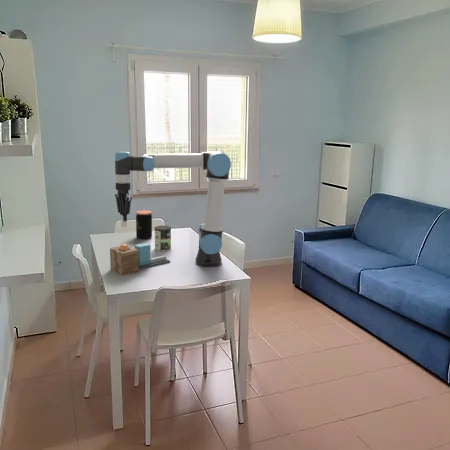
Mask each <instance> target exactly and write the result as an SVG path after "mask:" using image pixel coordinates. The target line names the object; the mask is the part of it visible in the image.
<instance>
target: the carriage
mask: <svg viewBox="0 0 450 450" xmlns="http://www.w3.org/2000/svg"><path fill="white" fill-rule="evenodd" d="M134 248H135V249H137V250H138V259H139V266H143V265H147V264H150V260H151V244H150V243H147V242H143V243H138V244H134Z"/></svg>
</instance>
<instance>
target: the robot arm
mask: <svg viewBox="0 0 450 450" xmlns="http://www.w3.org/2000/svg"><path fill="white" fill-rule="evenodd" d="M231 167H232V161H231V158H230V156H228V154H226V153H225V152H224V151H220V150H213V151H202V152H201V153H163V154H162V153H158V154H157V153H155V154H154V153H150V154H149V153H142V154H140V155H131V154H130V152H129V151H116V152H115V154H114V173H115V174H114V176H115V177H114V178H115V179H114V180H115V190H116V191H117V193H116V194H114V196H115V199H116V200H115V201H116V207H117V208H116V209H117V213H118V214H120V227H121V228H127V227H128V218H127V217H128V215H130V213H131V205H132V204H131V202H132V199H133V197H132V196H130V193H129V191H131V172H153V171H154V169H201V170H202V171H203V170H204V171H205V170H206V175H205V177H206V179H207V180H208V185H207V194H206V205H205V216H204V223H201V224H199V226H198V227H199V228H198V250H197V254H196V257H195V264H196V265H198V266H201V267H218V266H220V265H222V261H223V260H222V256H221V253H220V251H221V249H222V247H223V240H222V239H223V231H224V230H223V228H222V227H221V224H222V223H221V222H222V215H223V214H222V213H223V205H224V193H225V185H226V182H227V181H228V180H229V175H230V170H231Z"/></svg>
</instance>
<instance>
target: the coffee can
mask: <svg viewBox="0 0 450 450" xmlns="http://www.w3.org/2000/svg"><path fill="white" fill-rule="evenodd" d="M171 237H172V227H171V226H169V225H157V226H155V227H154V251H156V252H169V251H171V250H172V245H171V244H172V243H171V241H172V238H171Z"/></svg>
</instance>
